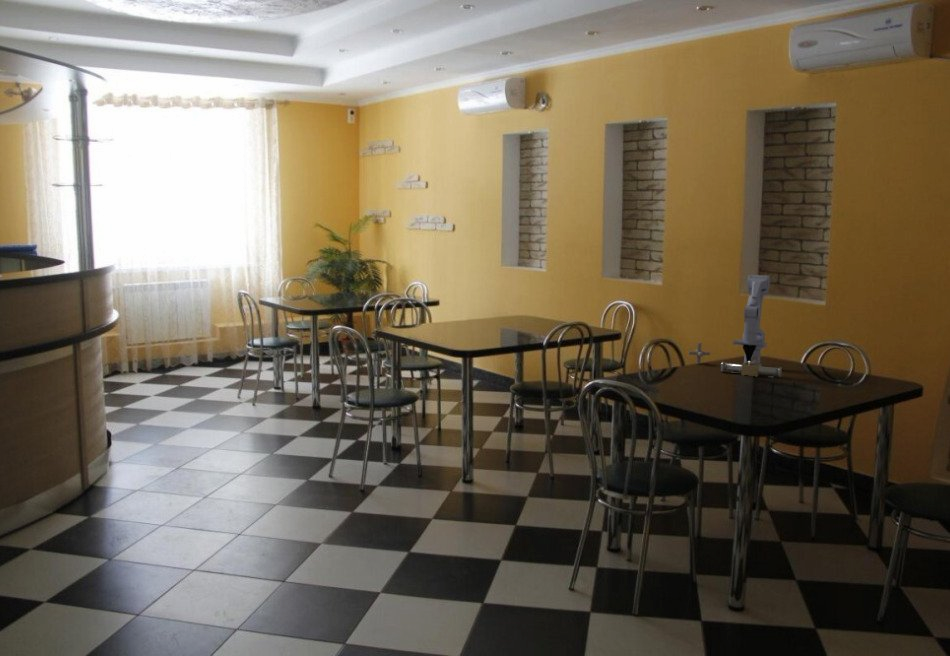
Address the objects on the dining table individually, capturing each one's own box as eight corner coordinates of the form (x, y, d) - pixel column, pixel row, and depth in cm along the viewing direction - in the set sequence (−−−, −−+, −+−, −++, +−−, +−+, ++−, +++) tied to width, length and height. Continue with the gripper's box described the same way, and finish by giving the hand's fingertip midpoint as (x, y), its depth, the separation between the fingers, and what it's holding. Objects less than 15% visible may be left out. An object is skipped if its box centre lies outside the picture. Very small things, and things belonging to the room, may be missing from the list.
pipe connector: (711, 365, 409) (712, 344, 408) (690, 365, 409) (691, 344, 408) (706, 361, 419) (707, 341, 418) (685, 361, 419) (686, 341, 418)
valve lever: (753, 364, 385) (754, 361, 385) (747, 364, 387) (747, 361, 387) (758, 360, 398) (758, 357, 397) (752, 359, 399) (752, 356, 399)
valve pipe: (722, 370, 397) (723, 360, 396) (781, 376, 385) (782, 365, 384) (719, 372, 391) (720, 362, 390) (779, 379, 379) (780, 368, 379)
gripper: (732, 331, 392) (730, 360, 394) (764, 334, 385) (762, 364, 387) (736, 329, 398) (734, 358, 400) (768, 332, 391) (766, 362, 393)
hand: (748, 361), depth 394 cm, fingers closed
